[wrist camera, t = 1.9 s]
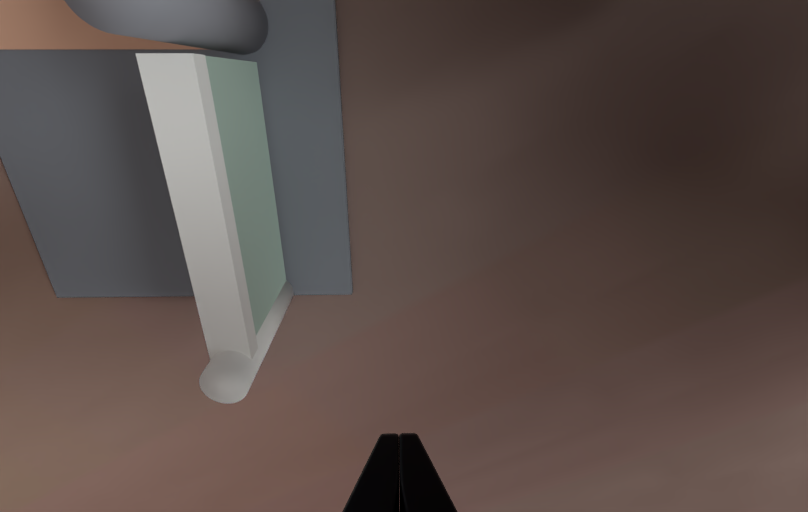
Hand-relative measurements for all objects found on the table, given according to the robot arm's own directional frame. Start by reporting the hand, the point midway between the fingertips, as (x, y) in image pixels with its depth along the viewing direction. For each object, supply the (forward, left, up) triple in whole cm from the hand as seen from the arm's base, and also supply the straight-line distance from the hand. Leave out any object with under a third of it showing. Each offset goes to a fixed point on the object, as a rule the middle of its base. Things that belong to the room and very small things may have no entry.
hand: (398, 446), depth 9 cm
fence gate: (+7, -3, -12) cm, 14 cm away
